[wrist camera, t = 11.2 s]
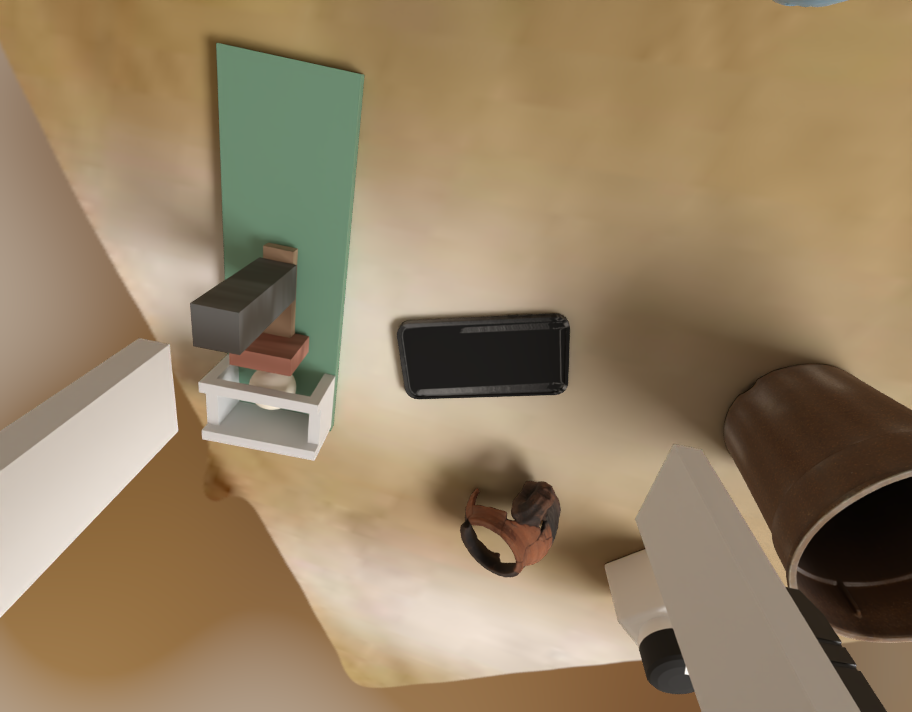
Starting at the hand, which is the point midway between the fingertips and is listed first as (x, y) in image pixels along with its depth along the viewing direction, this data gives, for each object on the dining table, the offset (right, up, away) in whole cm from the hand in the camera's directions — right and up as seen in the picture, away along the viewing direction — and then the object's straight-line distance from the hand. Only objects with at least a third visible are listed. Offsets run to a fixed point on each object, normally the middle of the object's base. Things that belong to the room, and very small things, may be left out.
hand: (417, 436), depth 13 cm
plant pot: (+32, -4, +32) cm, 45 cm away
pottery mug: (+7, -13, +39) cm, 42 cm away
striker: (-14, +7, +28) cm, 32 cm away
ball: (-15, -1, +31) cm, 34 cm away
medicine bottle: (+23, -22, +43) cm, 53 cm away
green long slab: (-13, +10, +28) cm, 33 cm away
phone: (+4, +2, +32) cm, 32 cm away
